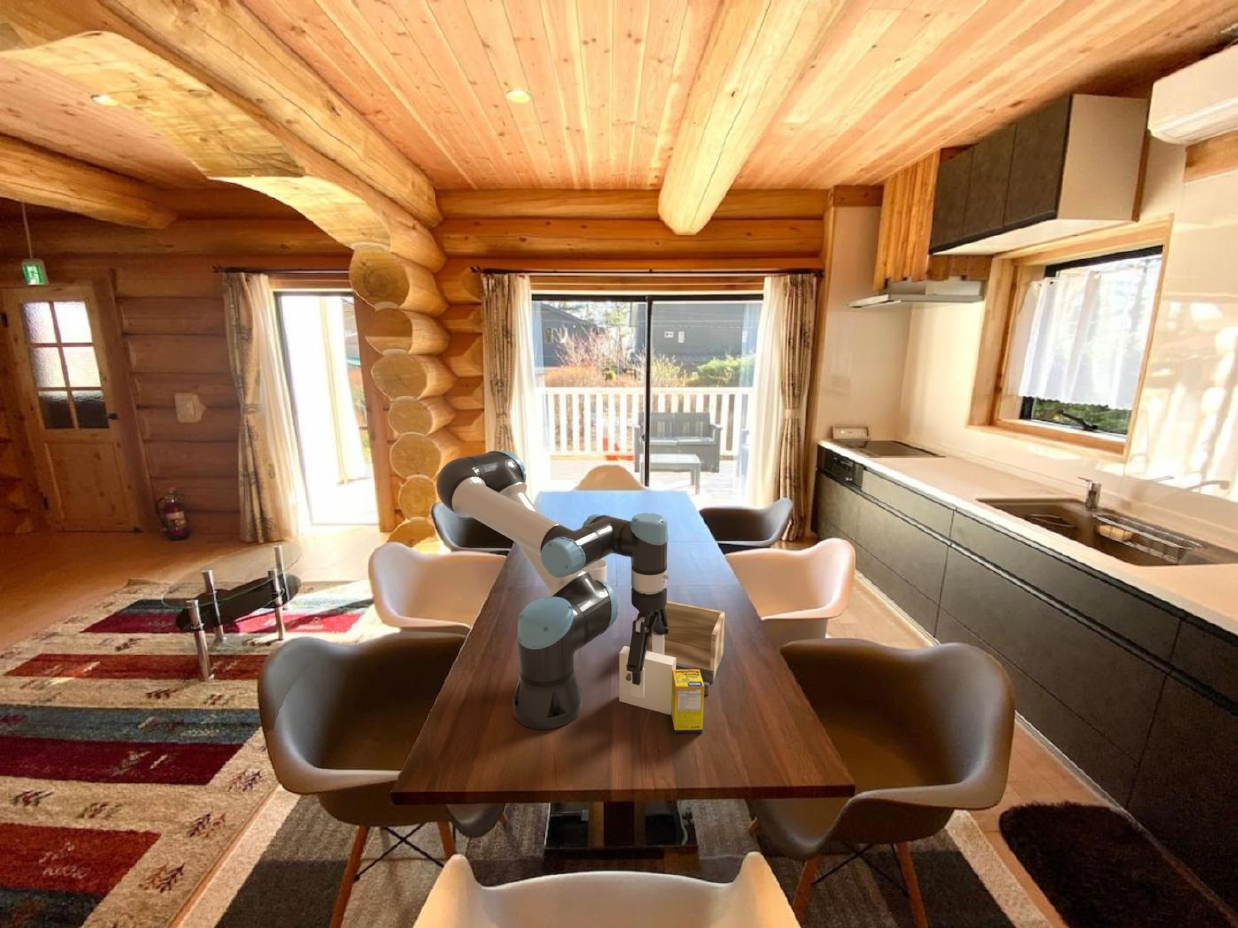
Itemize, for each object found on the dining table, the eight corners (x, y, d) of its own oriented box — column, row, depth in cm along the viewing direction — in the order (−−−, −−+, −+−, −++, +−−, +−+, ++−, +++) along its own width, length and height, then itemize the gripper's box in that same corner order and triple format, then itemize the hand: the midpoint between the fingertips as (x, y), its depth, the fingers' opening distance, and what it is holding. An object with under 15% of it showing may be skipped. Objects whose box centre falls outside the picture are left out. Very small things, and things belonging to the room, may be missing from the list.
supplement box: (697, 713, 112) (699, 668, 110) (702, 733, 106) (705, 686, 104) (670, 713, 112) (671, 668, 110) (674, 733, 106) (675, 686, 104)
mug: (604, 603, 161) (604, 570, 158) (576, 601, 162) (576, 568, 160) (610, 586, 172) (610, 555, 170) (584, 584, 174) (583, 553, 171)
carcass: (708, 695, 118) (710, 647, 115) (626, 674, 125) (626, 629, 123) (723, 653, 134) (725, 611, 132) (650, 638, 141) (651, 597, 139)
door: (669, 717, 111) (670, 667, 108) (617, 703, 115) (617, 655, 112) (674, 706, 114) (676, 657, 112) (624, 692, 119) (624, 645, 116)
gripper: (646, 617, 96) (645, 717, 101) (682, 567, 119) (680, 650, 123) (609, 610, 99) (610, 707, 104) (651, 562, 122) (650, 644, 126)
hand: (648, 677), depth 113 cm, fingers open, 13 cm apart
